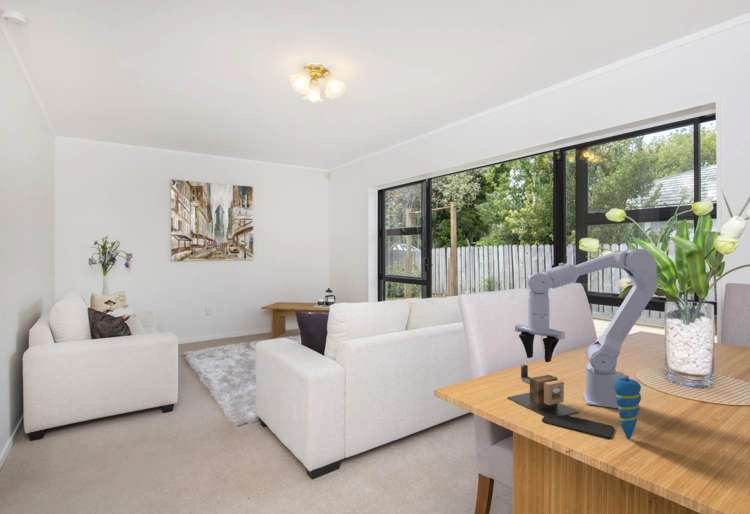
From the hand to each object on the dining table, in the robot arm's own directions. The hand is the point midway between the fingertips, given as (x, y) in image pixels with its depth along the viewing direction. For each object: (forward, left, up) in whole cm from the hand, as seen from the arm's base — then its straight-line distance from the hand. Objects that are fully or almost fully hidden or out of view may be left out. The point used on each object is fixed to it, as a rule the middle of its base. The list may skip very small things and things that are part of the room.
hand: (538, 359), depth 115 cm
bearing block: (-1, +9, -10) cm, 14 cm away
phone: (-8, +18, -11) cm, 23 cm away
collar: (-3, +11, -8) cm, 14 cm away
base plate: (0, +8, -10) cm, 13 cm away
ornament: (-18, +22, -11) cm, 30 cm away
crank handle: (0, +8, -6) cm, 10 cm away
